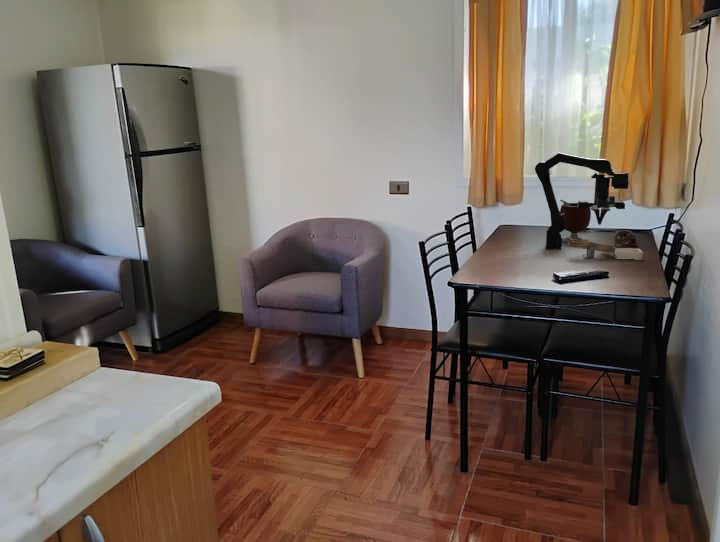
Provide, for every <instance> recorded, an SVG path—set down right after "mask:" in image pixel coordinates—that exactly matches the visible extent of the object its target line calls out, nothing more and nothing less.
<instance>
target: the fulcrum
mask: <svg viewBox="0 0 720 542" xmlns="http://www.w3.org/2000/svg"><path fill="white" fill-rule="evenodd" d="M595 253H596V250H595V247H590V249H586V253H585V254H582V256H584V257H583V258H584V259H585V260H586V259H598V260H600V259H599V257H598V255H596V254H595Z"/></svg>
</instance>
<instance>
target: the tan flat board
mask: <svg viewBox="0 0 720 542" xmlns="http://www.w3.org/2000/svg"><path fill="white" fill-rule="evenodd" d="M568 237H569V241H568V242H567V244H568V246H569V247H572V248H578V249H585V250H587V249H590V247H595V252H596V251H597V252H602V253H610V254H613V253H615V249H616V247H614V245H610V244H605V243H598V242H597V243H596V242H592V241H587V242H586V241H579V240H573V239H571V238H570V236H568Z"/></svg>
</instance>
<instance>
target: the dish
mask: <svg viewBox="0 0 720 542" xmlns="http://www.w3.org/2000/svg"><path fill="white" fill-rule="evenodd" d="M615 248H616V247H615ZM633 249H634V248H629V247H628V248H625V247H624V248H618V247H617V248H616V249H615V253H612V256H614V257H615V258H616V259H635V260H634V261H643V260H644V252H643V251H642V249H640V248H635V249H636V250H638V252H631V251H632V250H633ZM614 257H613V258H614ZM615 258H614V259H615ZM616 259H615V260H616Z"/></svg>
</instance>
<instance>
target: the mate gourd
mask: <svg viewBox="0 0 720 542" xmlns="http://www.w3.org/2000/svg"><path fill="white" fill-rule="evenodd" d="M559 202H561V203H562V204H561V207H560V210H559V211H560V213H561V214H563V213H564V215H565V219H566V221H567V222H566V225H565V229H564V230H565V231H567V232H569V233H570V235H569V236H561V238H562V242H564V241H566V242H565V243H568V241H569V237H570V238H571V239H573V240H579V241H587V242H588V241H589V240H588V239H589V238H586V237H583V236H579V233H580V232H583V231H585V230H586V229H587V228H589V225H590V222H591V215H592V210H591V207H588V208H587V209H579V208H578V207H577V204H578V202H567V201H565V200H563V199H560V200H559Z"/></svg>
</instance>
